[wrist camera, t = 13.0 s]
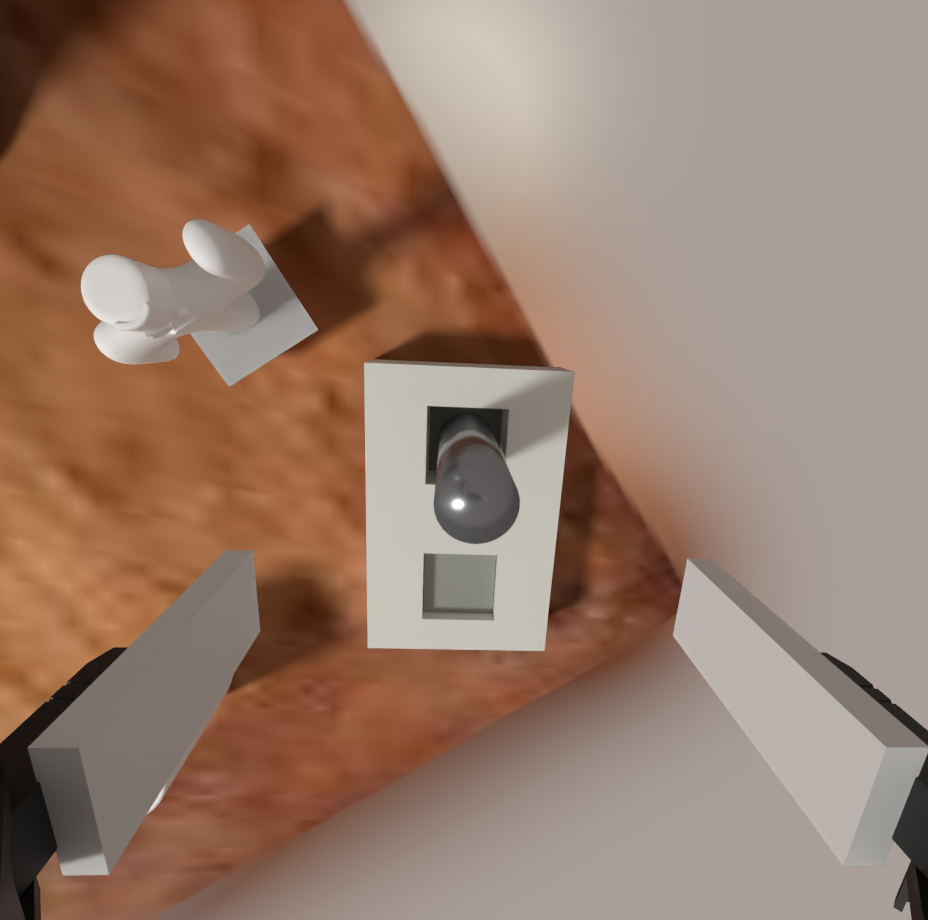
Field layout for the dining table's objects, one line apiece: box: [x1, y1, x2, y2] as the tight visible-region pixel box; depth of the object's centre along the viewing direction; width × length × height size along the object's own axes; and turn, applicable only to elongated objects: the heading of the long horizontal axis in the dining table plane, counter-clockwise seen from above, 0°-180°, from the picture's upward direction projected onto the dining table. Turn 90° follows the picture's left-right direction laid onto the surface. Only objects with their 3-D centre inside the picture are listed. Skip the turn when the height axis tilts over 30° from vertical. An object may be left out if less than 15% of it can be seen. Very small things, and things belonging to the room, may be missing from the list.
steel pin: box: [434, 412, 520, 544], centre depth 28 cm, size 4×4×14 cm
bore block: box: [364, 359, 574, 651], centre depth 35 cm, size 22×14×4 cm, turn 177°
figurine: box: [81, 219, 318, 387], centre depth 26 cm, size 7×9×15 cm
